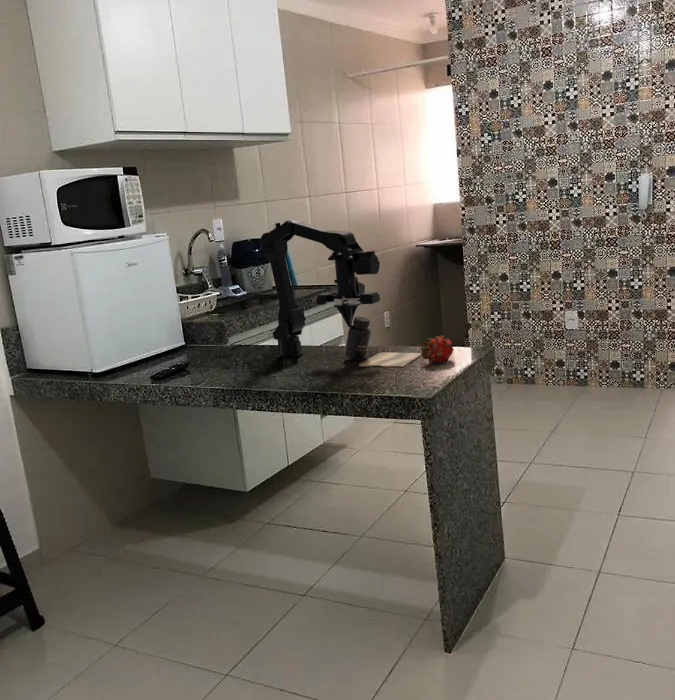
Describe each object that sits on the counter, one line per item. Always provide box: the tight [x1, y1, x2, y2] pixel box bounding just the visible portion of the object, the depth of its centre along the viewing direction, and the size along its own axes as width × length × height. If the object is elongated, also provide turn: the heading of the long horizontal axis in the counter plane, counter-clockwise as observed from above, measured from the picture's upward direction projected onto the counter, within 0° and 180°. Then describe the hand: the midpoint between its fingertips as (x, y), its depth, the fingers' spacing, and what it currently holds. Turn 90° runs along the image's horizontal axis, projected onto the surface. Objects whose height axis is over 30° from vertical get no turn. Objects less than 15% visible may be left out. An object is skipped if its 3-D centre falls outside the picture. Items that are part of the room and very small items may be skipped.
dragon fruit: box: [420, 334, 454, 365], centre depth 211 cm, size 8×8×12 cm
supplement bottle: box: [343, 316, 372, 361], centre depth 224 cm, size 7×7×12 cm
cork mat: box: [358, 351, 423, 368], centre depth 220 cm, size 14×16×1 cm
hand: (349, 326), depth 224 cm, fingers closed, pressing on supplement bottle
